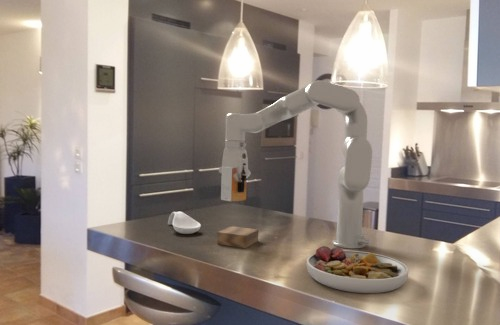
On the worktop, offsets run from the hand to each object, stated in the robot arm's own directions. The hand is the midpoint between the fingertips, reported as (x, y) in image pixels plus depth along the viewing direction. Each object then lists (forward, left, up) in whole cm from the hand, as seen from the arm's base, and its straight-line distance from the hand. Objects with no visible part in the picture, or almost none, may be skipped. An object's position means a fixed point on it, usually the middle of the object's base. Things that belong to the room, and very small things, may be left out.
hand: (233, 190), depth 182 cm
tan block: (-3, 0, -20) cm, 21 cm away
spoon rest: (+29, +1, -20) cm, 35 cm away
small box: (0, 0, -4) cm, 4 cm away
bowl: (-57, +8, -21) cm, 61 cm away
